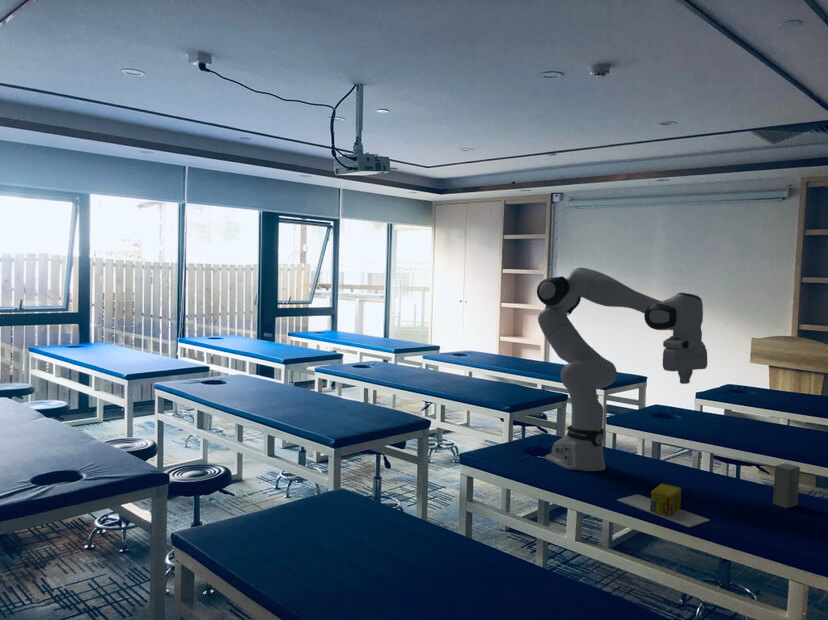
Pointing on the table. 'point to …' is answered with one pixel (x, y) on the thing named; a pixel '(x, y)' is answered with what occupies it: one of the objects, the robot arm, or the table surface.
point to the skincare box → (786, 485)
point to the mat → (677, 517)
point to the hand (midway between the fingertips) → (684, 383)
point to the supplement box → (666, 499)
